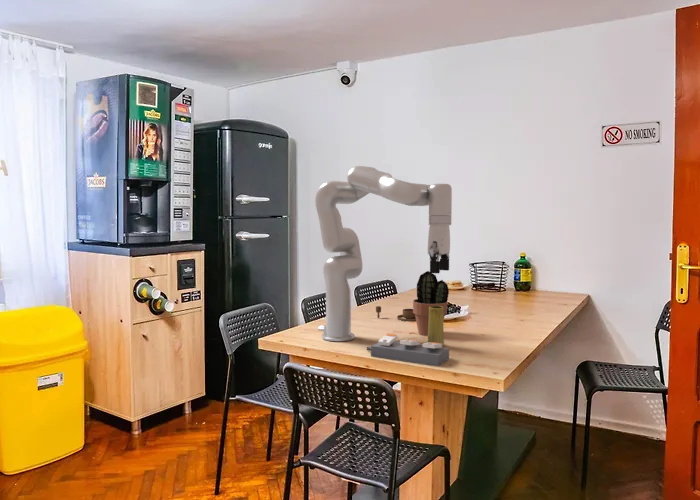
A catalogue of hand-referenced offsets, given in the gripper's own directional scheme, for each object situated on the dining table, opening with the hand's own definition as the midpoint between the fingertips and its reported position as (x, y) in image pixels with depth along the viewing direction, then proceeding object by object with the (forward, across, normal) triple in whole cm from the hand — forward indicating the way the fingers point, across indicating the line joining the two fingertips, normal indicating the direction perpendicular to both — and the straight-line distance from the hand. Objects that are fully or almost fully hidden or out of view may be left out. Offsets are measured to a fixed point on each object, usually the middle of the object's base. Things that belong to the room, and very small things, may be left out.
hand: (439, 271), depth 182 cm
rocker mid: (+23, +8, -8) cm, 26 cm away
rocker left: (+23, +8, -16) cm, 29 cm away
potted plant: (+29, -28, -14) cm, 42 cm away
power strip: (+28, +8, -9) cm, 31 cm away
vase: (+29, -11, -5) cm, 31 cm away
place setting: (+29, -52, -35) cm, 69 cm away
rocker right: (+23, +8, 0) cm, 25 cm away
